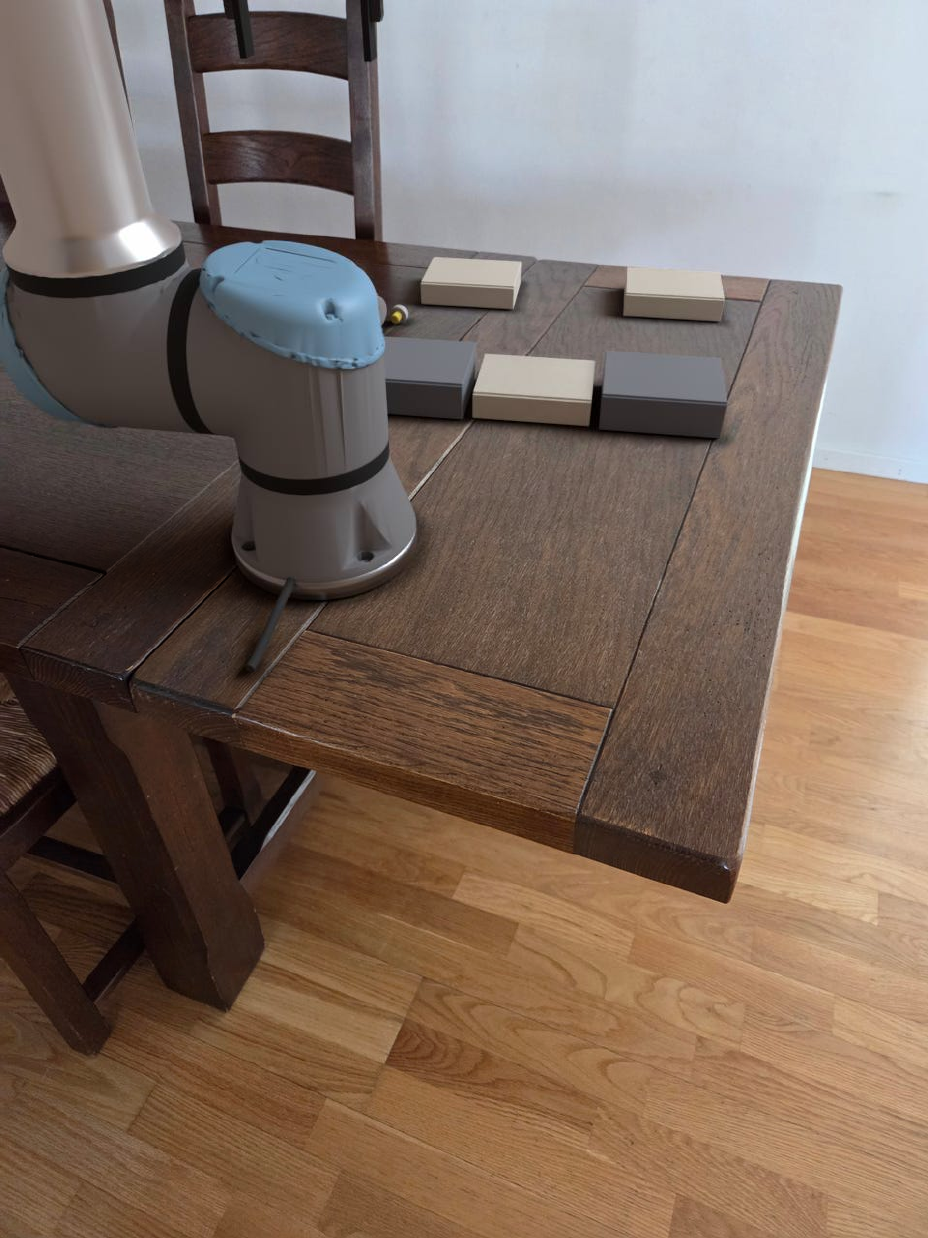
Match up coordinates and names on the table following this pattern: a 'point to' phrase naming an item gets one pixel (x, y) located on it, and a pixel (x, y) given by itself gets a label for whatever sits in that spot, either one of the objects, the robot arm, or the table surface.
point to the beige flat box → (534, 389)
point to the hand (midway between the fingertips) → (308, 58)
